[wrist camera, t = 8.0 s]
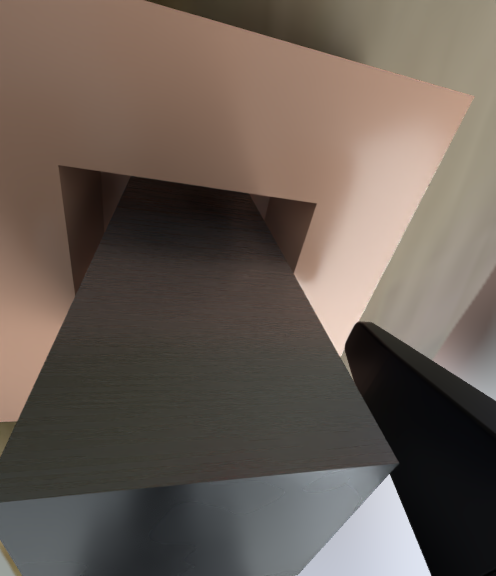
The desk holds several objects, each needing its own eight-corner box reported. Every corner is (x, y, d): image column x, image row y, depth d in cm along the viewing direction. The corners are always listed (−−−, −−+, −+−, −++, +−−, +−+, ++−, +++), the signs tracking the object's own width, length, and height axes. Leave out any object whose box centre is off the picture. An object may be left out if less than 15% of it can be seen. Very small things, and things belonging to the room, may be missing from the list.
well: (283, 331, 18) (313, 408, 14) (45, 324, 15) (-6, 421, 11) (369, 86, 11) (474, 96, 7) (-25, -20, 8) (-227, -108, 4)
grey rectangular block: (228, 278, 14) (297, 574, 6) (133, 270, 13) (51, 622, 5) (246, 188, 12) (399, 462, 3) (132, 171, 10) (-23, 504, 2)
